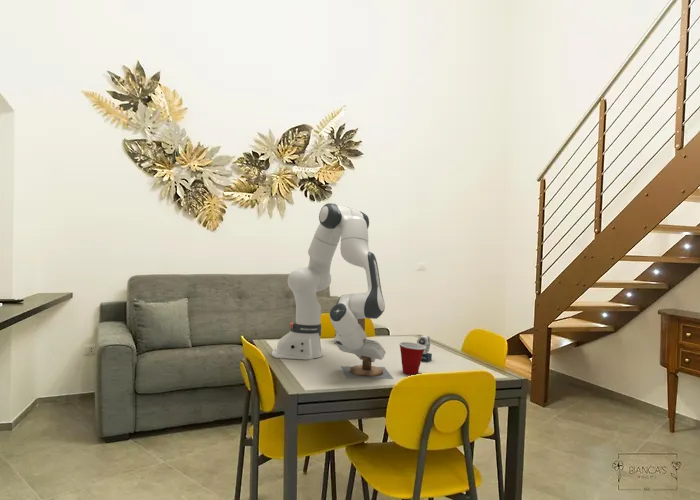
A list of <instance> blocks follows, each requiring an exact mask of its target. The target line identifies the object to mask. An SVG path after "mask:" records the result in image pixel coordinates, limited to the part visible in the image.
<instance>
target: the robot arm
mask: <svg viewBox="0 0 700 500" xmlns="http://www.w3.org/2000/svg"><path fill="white" fill-rule="evenodd" d="M319 211H320V212H319V213H318V220H319V224H318V226H317V228H316V230H315V231H314V232H315V233H314V235H313V238H312V240H311V241H310V242H311V243H310V245H309V248H308V251H307V254H308V256H309V260H308V261H309V263H308V266H307V267H300V268H297V269H296V268H295V269H294V270H292V271H291V272H290V273H289V274H288V277H287V286H288V288H289V289H290V290H291V292H292V293H293V294H292V295H293V296H294V297H293V298H294V300H295V322H290V323H289V327H290V331H289V332H287V333H286V334H284V335H283V336H282V337H280V338H279V340H278V342H277V345H276V348H274V349H273V350H272V351H271V356H272V357H273V358H276V359H292V360H293V359H294V360H306V361H307V360H308V361H309V360H312V359H317V358H320V357H323V355H324V354H323V351H322V345H321V335H322V323H321V321H322V318H321V317H322V305H321V304H320V303H319V300H318V297H317V292H322V291H324V290H325V289H327V288H329V286H330V285H331V283H332V275H331V273H330V272H331V265H332V261H333V257H334V255H335V252H336V250H337V248H338V245H339V242H340V247H339V248H340V255H341V257H342V258H343V260H345V261H346V263H349V264H351V265H352V266H357V267H359V268H363V270H365V274H366V281H367V289H368V290H366V292H360V293H359V292H358V293H347V294H342V295H341V296H340V297H339V298H338V299H337V301H336V304H334V305H333V306H332V307H331V309H330V311H329V313H328V314H329V319H330V322H331V324H332V326H333V328H334V331H335V330H336V332H337V335H336V337H335V336H334V339H333V342H334V344H335V345H336V346H337V348H338V349H339V351H341V352H343V353H346V354H347V353H348V354H352V355H355V356H356V357H358V358H359V360H361V361H363V356H366V357H370V359H369V360H370V362H372V363H374V362H375V361H376V360H383V359H384V357H385V355H386V350H385V348H384V347H383V346H382V344H381V343H380V342H378V341H377V340H372V339H370V338H369V339H368V338H367V337H368V336H367V333H366V331H365V332H364V330H363V329H362V327H361V326H360V325H359V324H358V321H357V320H358V319H362V318H365V319H369V320H370V319H371V320H372V319H373V320H374V319H375V320H377V319H379V317H381V315H383V313H384V312H385V307H386V306H385V300H384V299H385V298H384V296H383V291H382V285H381V280H380V279H381V278H380V273H379V266H378V262H377V257H376V255H375V253H374V252H372V251H370V247H369V230H368V229H369V226H370V218H369V216H368V215H367V214H366V213H365V212H362V211H361V210H360V211H359V210H357V209H354V208H352V207H349V206H343V205H339V204H336V203H332V202H331V203H329V202H328V203H325V204H323V206H322V207H321V209H320V210H319Z"/></svg>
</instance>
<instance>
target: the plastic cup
mask: <svg viewBox="0 0 700 500" xmlns="http://www.w3.org/2000/svg"><path fill="white" fill-rule="evenodd" d="M398 345H399V350H400V357H401V358H400V359H401V365H402V366H401V369H402V373H403V374H404V375H408V376H409V375H411V376H413V375H412V374H416V375H418V374H419V370H420V366H421V362H422V361H421V359H422V354H423V352H424V350H425V348H426V347H425V346H424V345H421V344H417V342H411V341H410V342H409V341H400V342H398Z"/></svg>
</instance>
